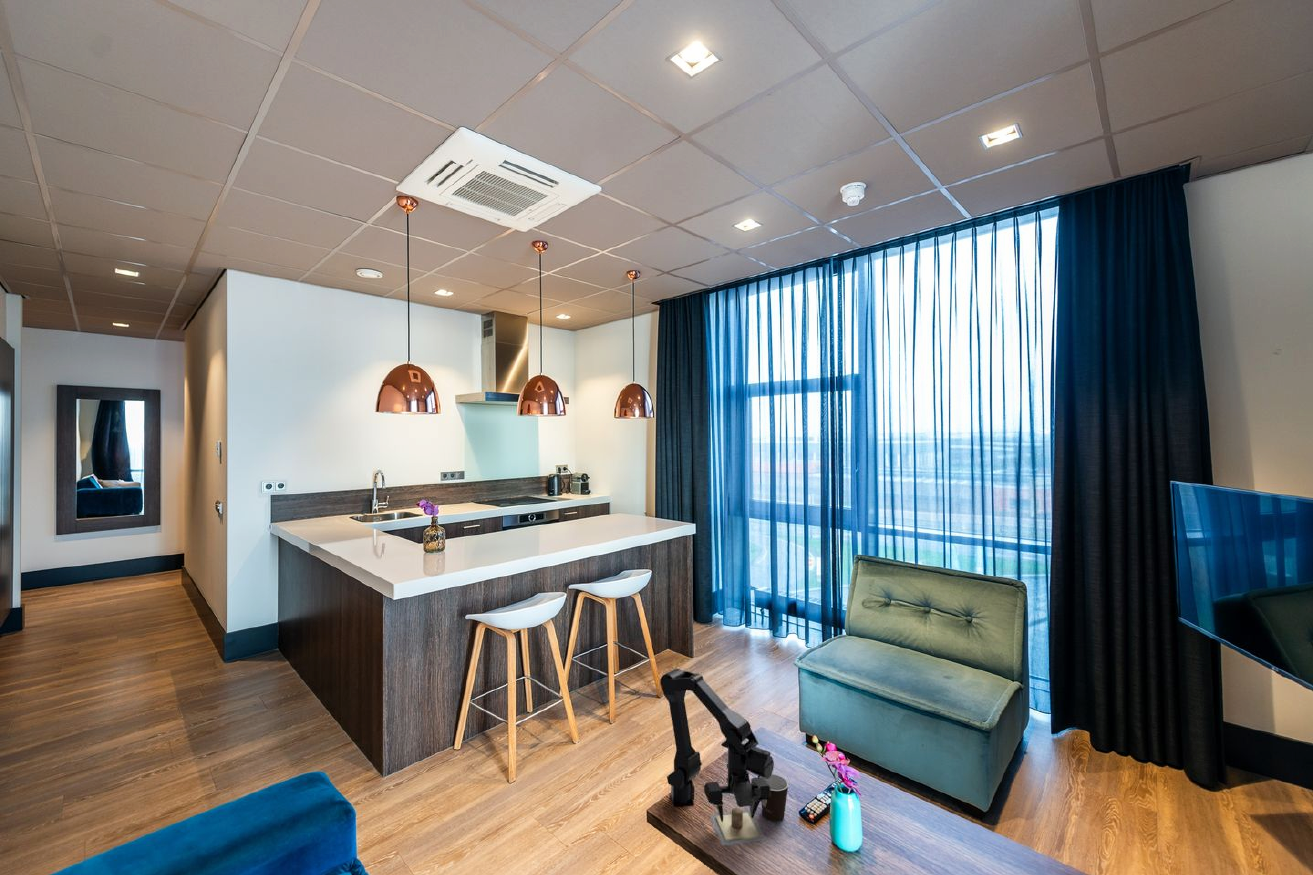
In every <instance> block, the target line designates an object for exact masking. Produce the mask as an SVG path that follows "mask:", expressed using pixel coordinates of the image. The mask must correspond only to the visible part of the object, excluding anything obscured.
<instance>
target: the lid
mask: <svg viewBox="0 0 1313 875" xmlns="http://www.w3.org/2000/svg"><path fill="white" fill-rule="evenodd" d="M731 813H732V814H730V815H723V822H721V819H720V816H716V820H717V822H718V824H719V827H720V829H721V831H722V833H723V836H724V838H725V840H726V841H731V840H740V839H748V838H756V837H760V835H759V833H758V831H757V829H756V828H755V826H754V824H753V822H752V820H751V818H750V817H749V815H748V813H743V810H742V809H741V808H740V807H733V808H732V809H731Z"/></svg>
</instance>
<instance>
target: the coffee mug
mask: <svg viewBox="0 0 1313 875" xmlns="http://www.w3.org/2000/svg"><path fill="white" fill-rule="evenodd" d="M758 777H761V776H759V775H757V778H758ZM763 778H764V777H763ZM764 779H765V780H766V782H767V783H768V785H769V786H770V789H771V796H770V797H766V800H762V801H761V802H760V803H761V812H762V816H763V818H764V819H766V820H767V821H769V822H772V823H779V822H782V821H784V819H785V812H786V805H787V798H788V789H789V783H788V781H787V778H785V777H783V776H781V775H779V774H775V773H772V774H771V776H770V778H769V779H766V778H764Z"/></svg>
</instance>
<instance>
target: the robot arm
mask: <svg viewBox="0 0 1313 875" xmlns="http://www.w3.org/2000/svg"><path fill="white" fill-rule="evenodd" d="M659 683H660V684H659V685H660V688H661V692H662V694H663V696H664V698H665V699H666V700H667V701H668V703H669V711H670V718H671V724H672V729H673V737H674V744H675V750H676V751H675V755H674V758H673V771H671V773H669V774H668V775H667V776H666V779H667V783H668V785H670V787H671V788H670V793H669V797H670V800H671V804H672V806H673V808H683V807H692V806H695V802H694V800H695V785H694V782H693V779H695V778H696V776H697V775H698V774H699V773H700V771H701V769H702V765H703V763H702V761H701V754H700V751H696V750H695V749H694V747H693V745H692V739H691V733H690V728H689V727H690V726H689V722H688V721H689V720H688V715H687V714H688V713H687V708H686V703H685V696H686V692H687V691H690V692H692V693H693V694H694V695H695V696H696V697H697V699H698V700H699V701H700V702H701V703H702V705H703V706H704V707H705V708H706V709H707V711H708V712H710V714H711V715H712V716H713V717H714V719H715V720H716V721H717V723H718V726H719V728H720V732H721V734H723V736H724V738H725V740H724V741H723V742H722V743H721V744H720V745H721V747H722V748H723V747H724V748H726V749H727V763H726V769H727V777H726V779H725V780H726V783H727V785H723V786H720V784H719V782H718V781H711V782H705V783H704V785H703V793H704V795H705V796H706V799H707V801H708V803H710V804H712V805H714V806H716V809H717V812H718V813H717V814H719V816H720V819H721V822H723V814H724V809H723V805H724V801H723V798H724V796H725V795H727V796H728V795H733V796H734V798H735V801H736V802H735V803H736V805H737V807H738V808H743V807H748V806H749V811H750V815H751V818H753V817H754V818H755V814H756V812H757V809H758V807H759V805H760V803H761V801H762V800H766V797H770V796H771V789H770V786H769V785H768V783H767V782H766V780H765V779H764V778H766V779H769V778H770V776H771V774H773V771H774V768H775V767H774V766H775V761H774V759H773V757H772V756H771V751H769V750H764V749H762V748H758V747H757V746H758V745H759V742H758V740H757V738H756V736H755V734H754V732H753V730H752V728H751V727H752V726H751V724H750V722H749V721H748V720H747V719H746V718H745V717H743V716H742V715H741V713H739V712H737V711H735V710H732V709H731V708H729V706H728V705H727V704H726V703H725V702H724V701H723V700H722V698H721V697H720V696H719V695H718V694H717V693H716V692H715V691H714V690H713V689H712V687H711V686H710V685H709V684H708V683H707V682H706V681H705V680H704V677H703V676H702V674H700V673H694V672H692V671H688V670H682V669H680V668H674V669H672V670H669V671H668V672H666V673H664V674H662V676H661V677H660V680H659ZM745 740H748V741H746V742H745ZM743 742H745V743H743ZM749 773H753V774H754V775H757V777H751V779H750V774H749ZM758 775H759V776H761V777H758ZM763 777H764V778H763ZM670 794H671V795H670Z"/></svg>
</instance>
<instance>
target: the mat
mask: <svg viewBox="0 0 1313 875" xmlns="http://www.w3.org/2000/svg"><path fill="white" fill-rule="evenodd" d="M742 811H743V810H742ZM743 813H748V815H749V817H750V818H751V815H750V810H744V811H743ZM730 814H732V812H725V813H724V812H723V815H730ZM716 816H719V813H717V814H709V818H710V820H711V822H712V824H713V827H714V829H715V832H716V834H717V837H718V839H719V841H720V843H721V845H722V847H723V846H730V845H731V846H733V845H741V844H747V843H756V842H757V843H758V842H763V841H767V838H766V836H765V835H764V833H763V831H762V829H761V827H760V825H759V824H758V821H757V820H756V818H755V816H754V817H753V818H751V820H752V822H753V824H754V826H755V828H756V829H757V831H758V833H759V835H760V837H756V838H748V839H740V840H731V841H726V840H725V838H724V836H723V833H722V831H721V829H720V827H719V824H718V822H717V820H716Z"/></svg>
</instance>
